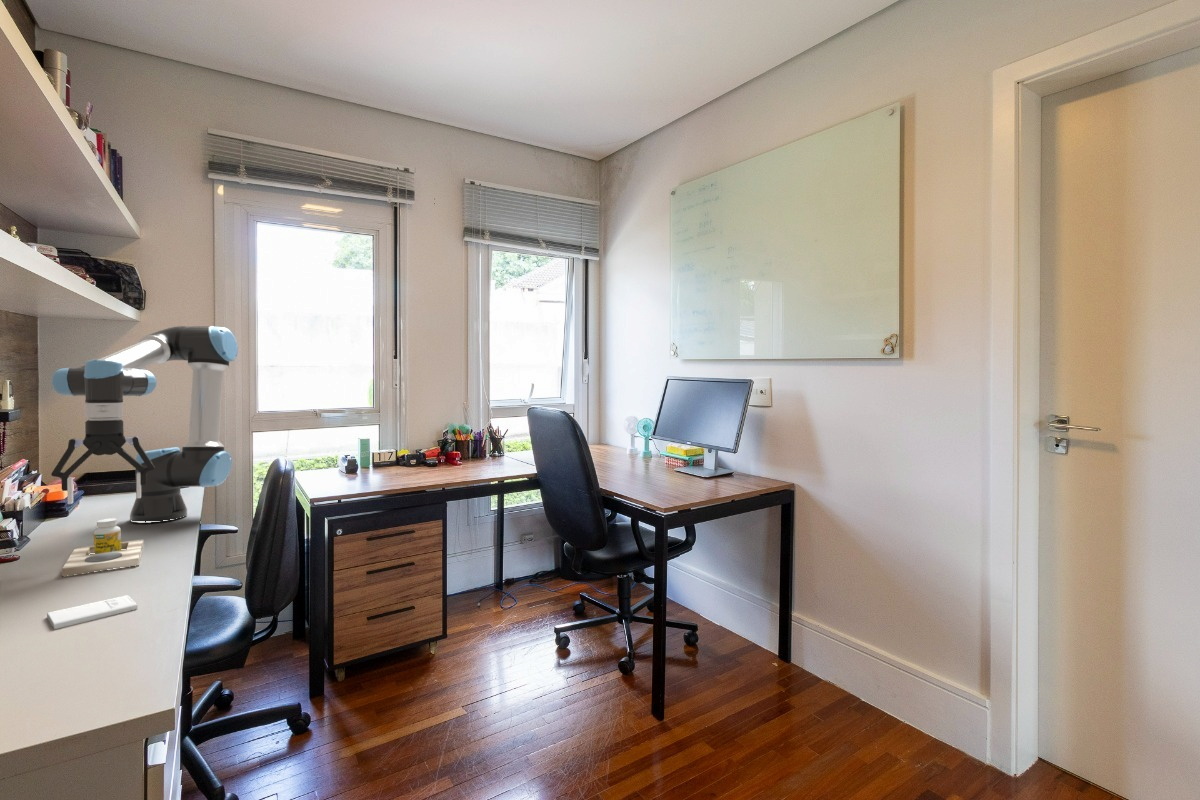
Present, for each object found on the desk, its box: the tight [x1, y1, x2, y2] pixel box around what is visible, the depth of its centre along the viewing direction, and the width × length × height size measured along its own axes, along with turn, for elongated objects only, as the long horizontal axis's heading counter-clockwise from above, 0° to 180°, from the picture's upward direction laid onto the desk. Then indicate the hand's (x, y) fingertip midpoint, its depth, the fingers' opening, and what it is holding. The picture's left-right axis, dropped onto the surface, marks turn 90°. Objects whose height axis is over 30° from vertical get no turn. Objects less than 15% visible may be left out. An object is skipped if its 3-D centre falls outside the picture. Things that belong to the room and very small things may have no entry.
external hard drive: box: [46, 594, 138, 630], centre depth 114 cm, size 2×8×12 cm
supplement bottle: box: [93, 517, 122, 554], centre depth 150 cm, size 5×5×10 cm
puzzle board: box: [61, 539, 144, 577], centre depth 147 cm, size 20×14×2 cm
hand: (105, 500), depth 149 cm, fingers open, 13 cm apart
